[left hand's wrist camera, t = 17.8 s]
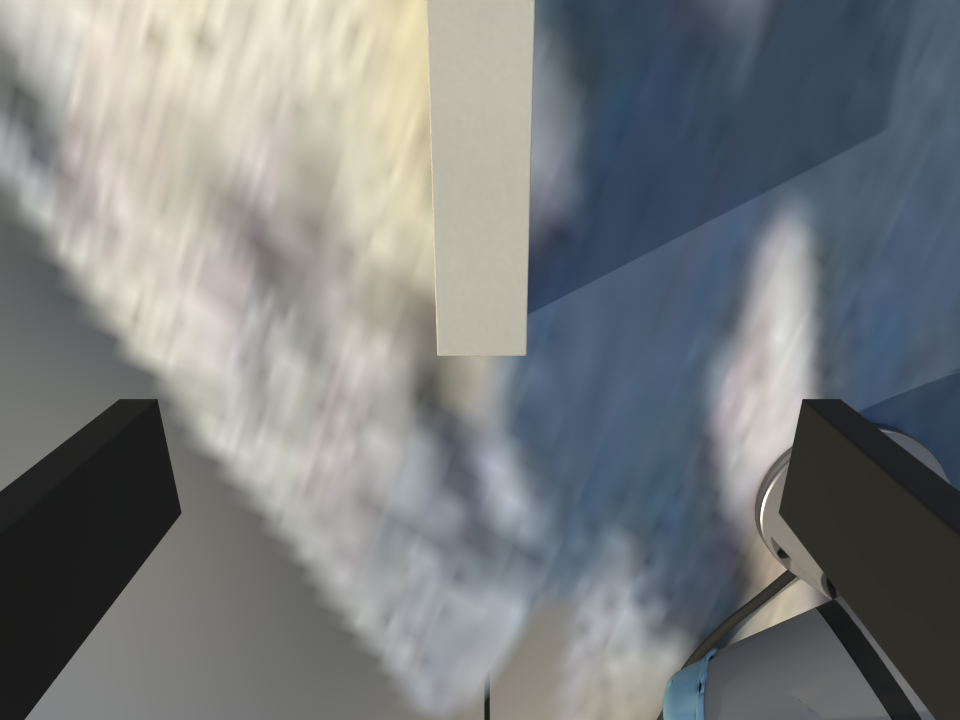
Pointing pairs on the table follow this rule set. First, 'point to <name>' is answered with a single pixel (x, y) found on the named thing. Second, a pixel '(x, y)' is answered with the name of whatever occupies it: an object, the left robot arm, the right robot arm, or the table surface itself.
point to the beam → (481, 171)
